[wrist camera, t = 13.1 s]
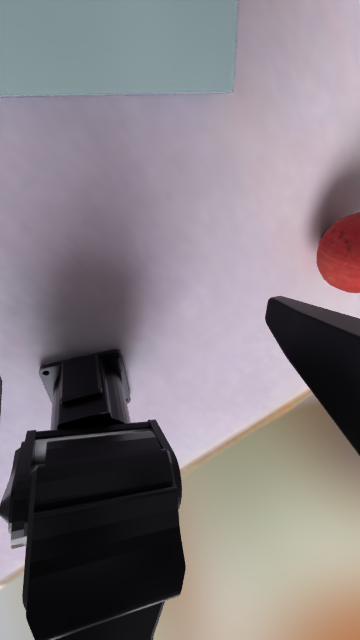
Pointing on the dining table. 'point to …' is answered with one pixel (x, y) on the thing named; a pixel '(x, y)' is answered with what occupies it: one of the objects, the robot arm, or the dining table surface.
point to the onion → (341, 254)
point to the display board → (117, 47)
